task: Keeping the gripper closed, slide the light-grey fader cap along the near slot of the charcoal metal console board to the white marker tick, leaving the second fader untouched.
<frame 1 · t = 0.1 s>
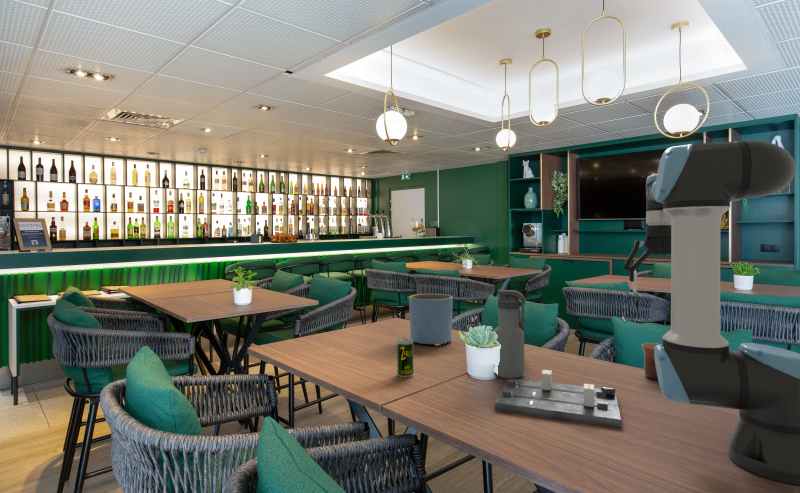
hand: (659, 292, 138), 28 cm above the table, fingers open, 13 cm apart
water bottle: (509, 375, 147), on the table
fader a: (588, 394, 115), point 5 cm above the table, slide at 0.0 cm
bottle: (514, 360, 164), on the table
fader b: (546, 379, 127), point 5 cm above the table, slide at 0.0 cm
planter: (431, 342, 195), on the table
console board: (557, 403, 122), on the table
beer can: (405, 376, 147), on the table
mug: (658, 380, 141), on the table
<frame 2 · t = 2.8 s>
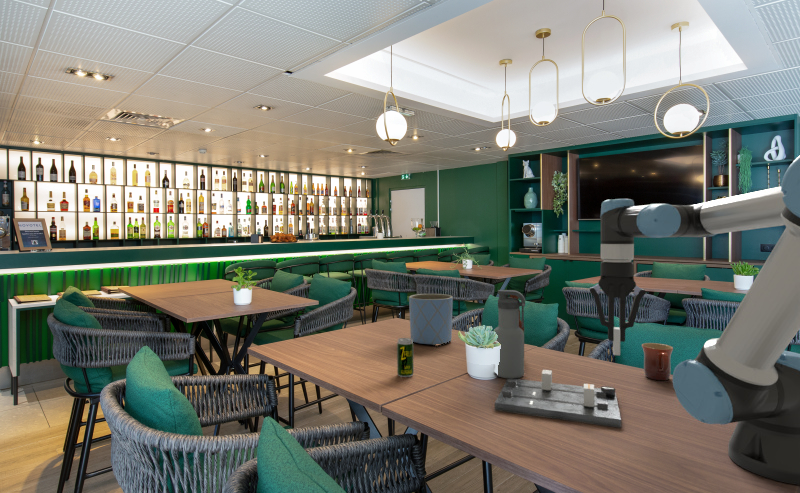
hand: (616, 353, 112), 16 cm above the table, fingers closed
nothing on the table moved.
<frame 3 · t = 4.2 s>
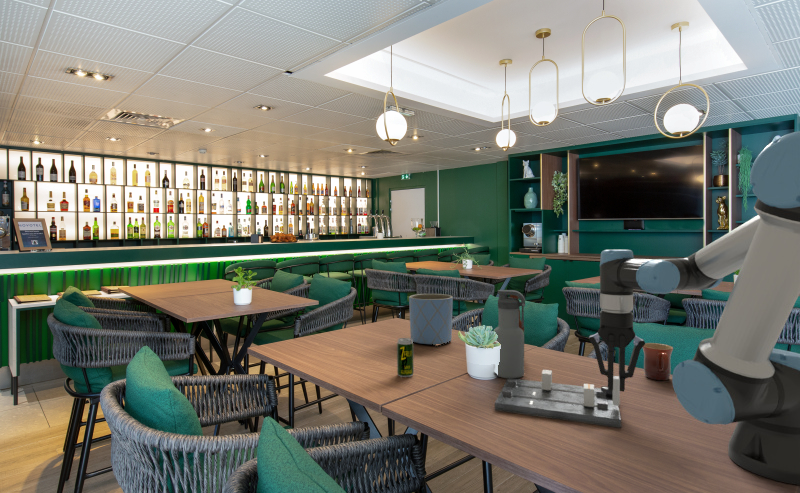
hand: (616, 402, 113), 3 cm above the table, fingers closed
nothing on the table moved.
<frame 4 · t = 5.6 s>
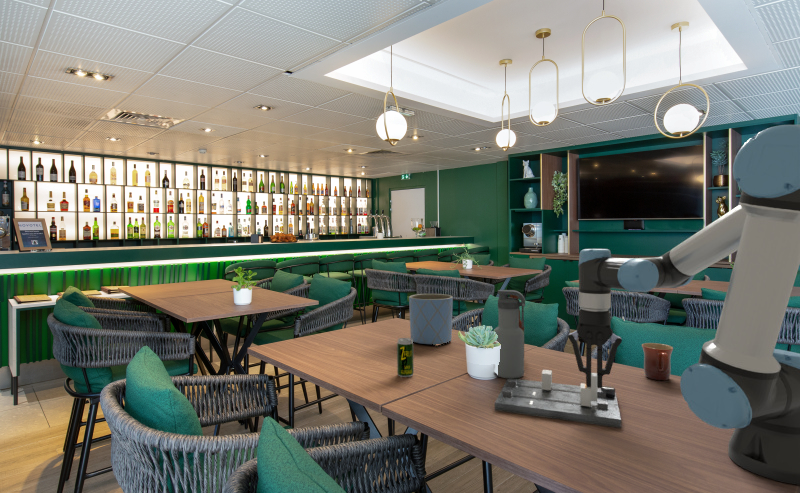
hand: (594, 399, 115), 4 cm above the table, fingers closed
fader a: (585, 394, 115), point 5 cm above the table, slide at 0.8 cm, touching gripper
everything else where it was.
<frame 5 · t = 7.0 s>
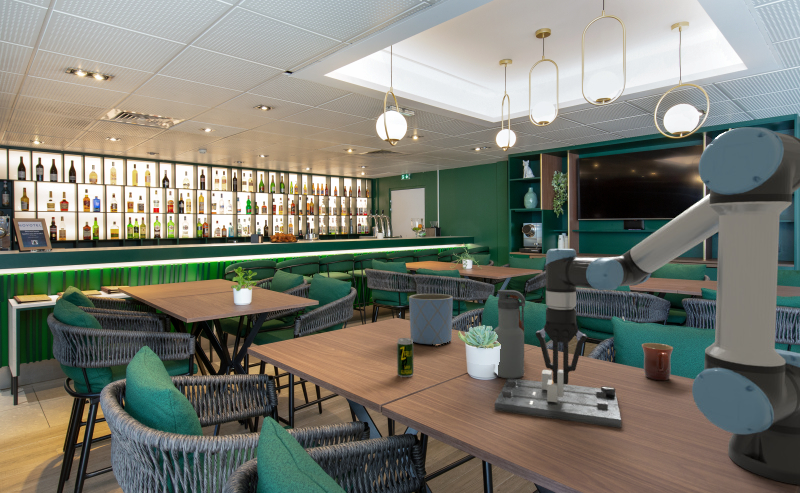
hand: (560, 395, 118), 4 cm above the table, fingers closed
fader a: (552, 390, 118), point 5 cm above the table, slide at 8.9 cm, touching gripper
everything else where it was.
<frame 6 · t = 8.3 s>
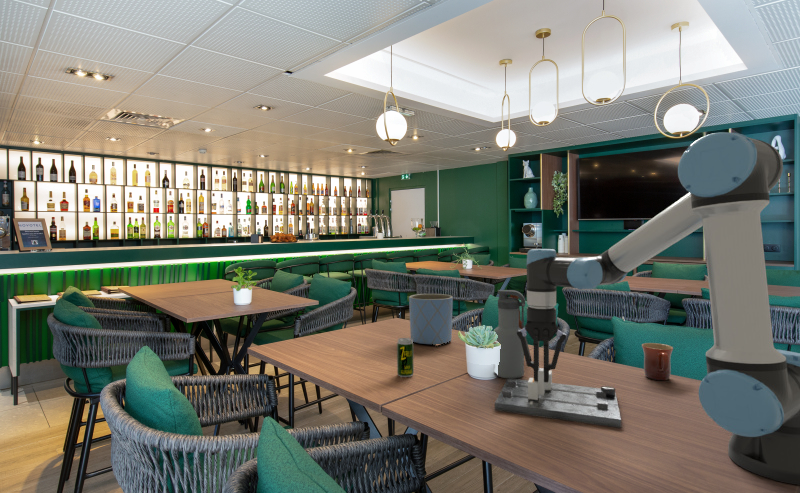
hand: (541, 393, 120), 4 cm above the table, fingers closed
fader a: (533, 388, 120), point 5 cm above the table, slide at 13.8 cm, touching gripper
everything else where it was.
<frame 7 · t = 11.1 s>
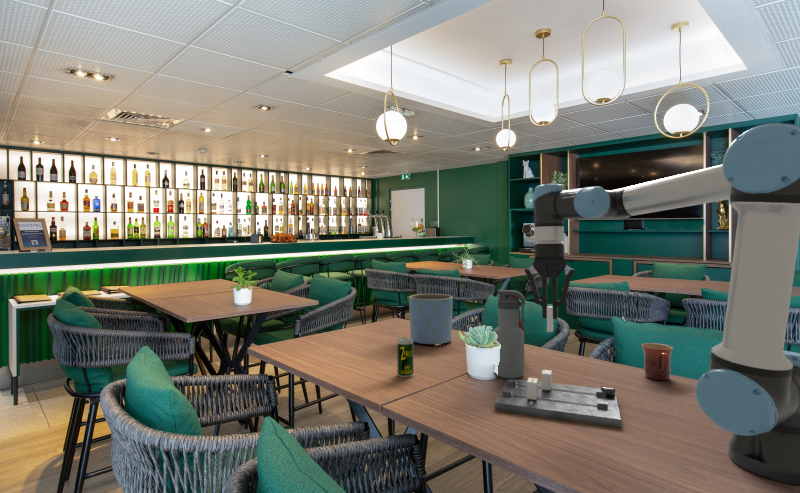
hand: (550, 330, 119), 21 cm above the table, fingers closed
fader a: (532, 388, 120), point 5 cm above the table, slide at 14.1 cm
everything else where it was.
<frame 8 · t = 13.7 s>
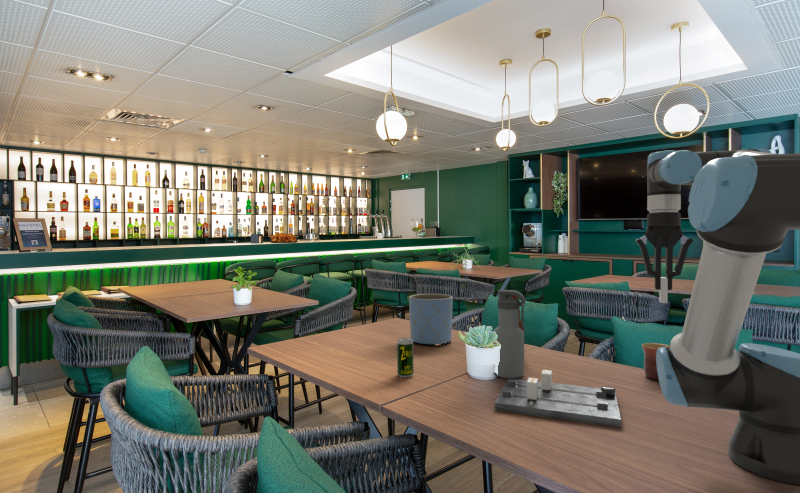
hand: (663, 302, 116), 28 cm above the table, fingers closed
nothing on the table moved.
at the end: fader a slide at 14.1 cm; fader b slide at 0.0 cm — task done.
